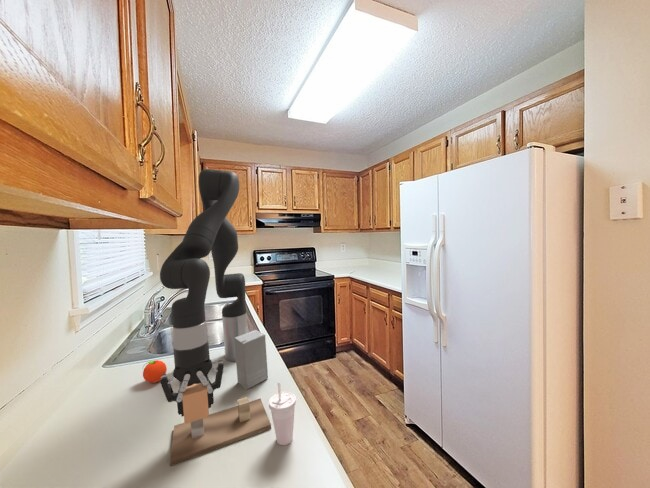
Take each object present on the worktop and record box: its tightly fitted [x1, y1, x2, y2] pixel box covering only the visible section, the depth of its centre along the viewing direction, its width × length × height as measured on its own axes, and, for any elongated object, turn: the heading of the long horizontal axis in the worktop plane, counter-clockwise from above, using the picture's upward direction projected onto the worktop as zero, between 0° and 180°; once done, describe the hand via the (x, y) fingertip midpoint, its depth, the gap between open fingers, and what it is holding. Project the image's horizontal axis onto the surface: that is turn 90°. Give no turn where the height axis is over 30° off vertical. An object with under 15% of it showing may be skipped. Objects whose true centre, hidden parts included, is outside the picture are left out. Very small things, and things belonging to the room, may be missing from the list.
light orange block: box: [182, 383, 210, 424], centre depth 65 cm, size 5×5×7 cm
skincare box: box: [234, 329, 269, 390], centre depth 88 cm, size 8×7×16 cm
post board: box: [169, 396, 272, 467], centre depth 68 cm, size 12×22×6 cm, turn 116°
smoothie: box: [268, 381, 297, 446], centre depth 63 cm, size 6×6×14 cm
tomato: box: [142, 359, 168, 384], centre depth 92 cm, size 8×7×7 cm
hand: (196, 409), depth 65 cm, fingers closed on light orange block, 5 cm apart
